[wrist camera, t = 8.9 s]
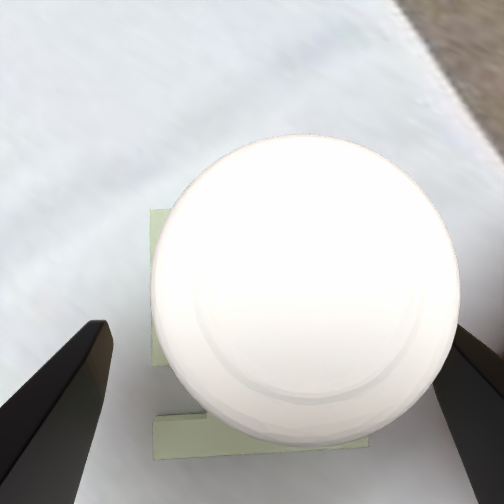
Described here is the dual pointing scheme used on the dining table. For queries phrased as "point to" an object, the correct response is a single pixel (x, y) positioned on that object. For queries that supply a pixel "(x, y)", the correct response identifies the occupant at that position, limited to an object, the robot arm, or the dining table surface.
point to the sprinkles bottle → (305, 290)
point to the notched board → (205, 425)
